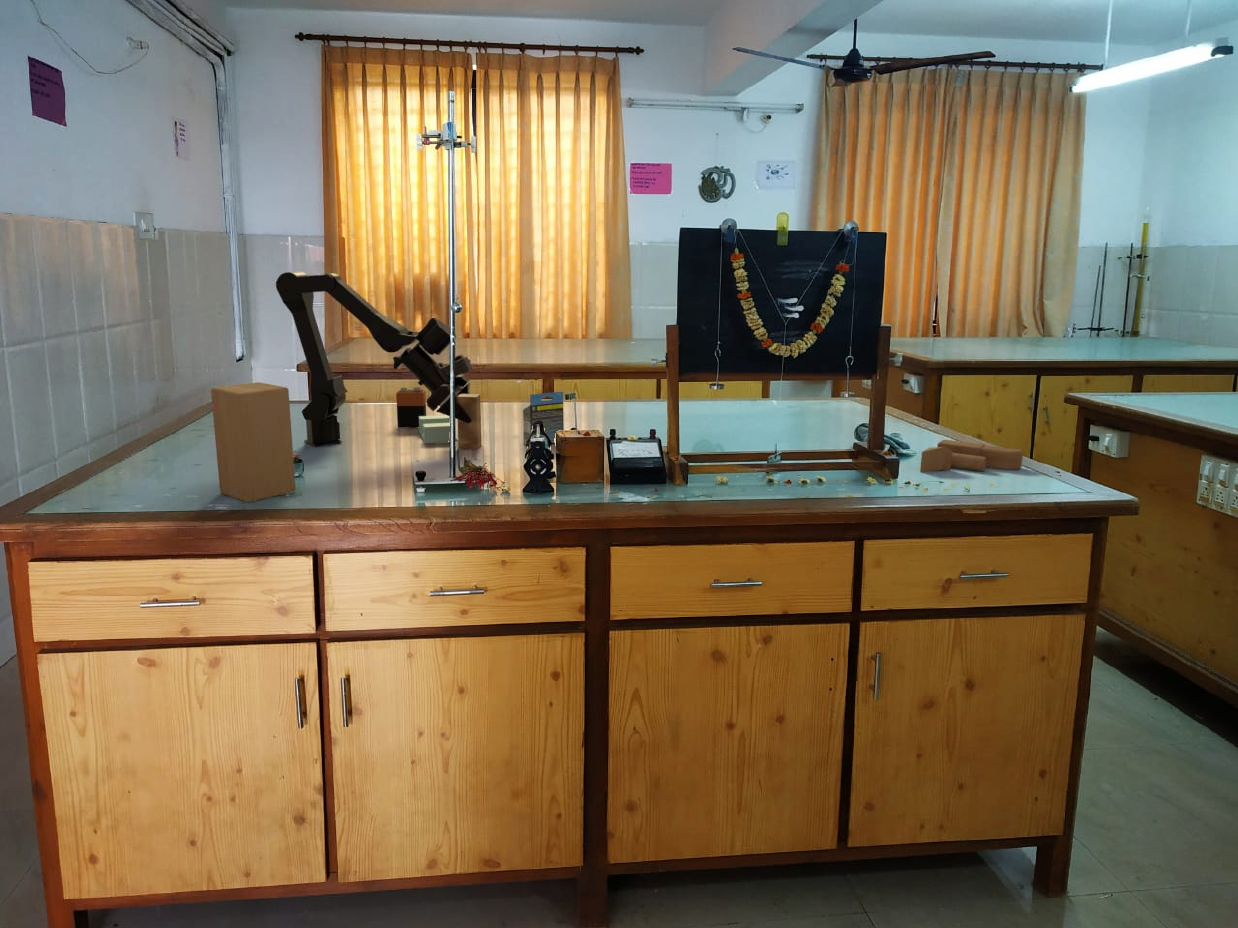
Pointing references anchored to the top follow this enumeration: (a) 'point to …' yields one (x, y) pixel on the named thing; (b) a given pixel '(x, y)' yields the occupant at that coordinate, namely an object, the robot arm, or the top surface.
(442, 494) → the top surface
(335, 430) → the robot arm
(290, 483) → the wooden block
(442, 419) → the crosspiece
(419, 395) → the battery
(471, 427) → the slat
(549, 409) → the label tape cartridge
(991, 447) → the wooden block set
